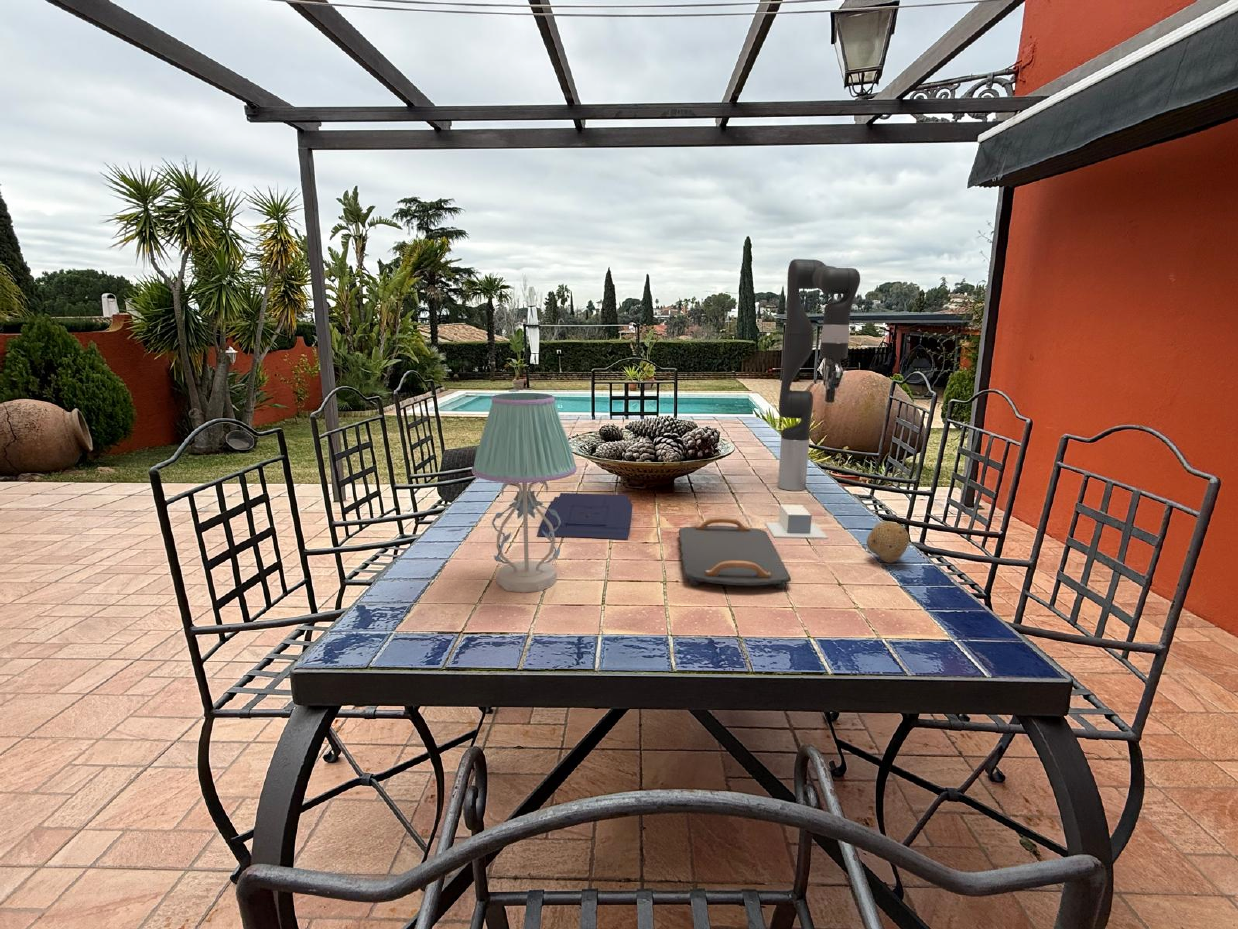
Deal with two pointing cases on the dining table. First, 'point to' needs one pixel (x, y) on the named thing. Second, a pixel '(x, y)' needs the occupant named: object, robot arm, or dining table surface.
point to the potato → (888, 541)
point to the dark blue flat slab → (589, 516)
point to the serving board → (730, 555)
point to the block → (795, 519)
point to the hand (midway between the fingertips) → (829, 402)
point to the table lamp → (524, 474)
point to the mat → (780, 532)
